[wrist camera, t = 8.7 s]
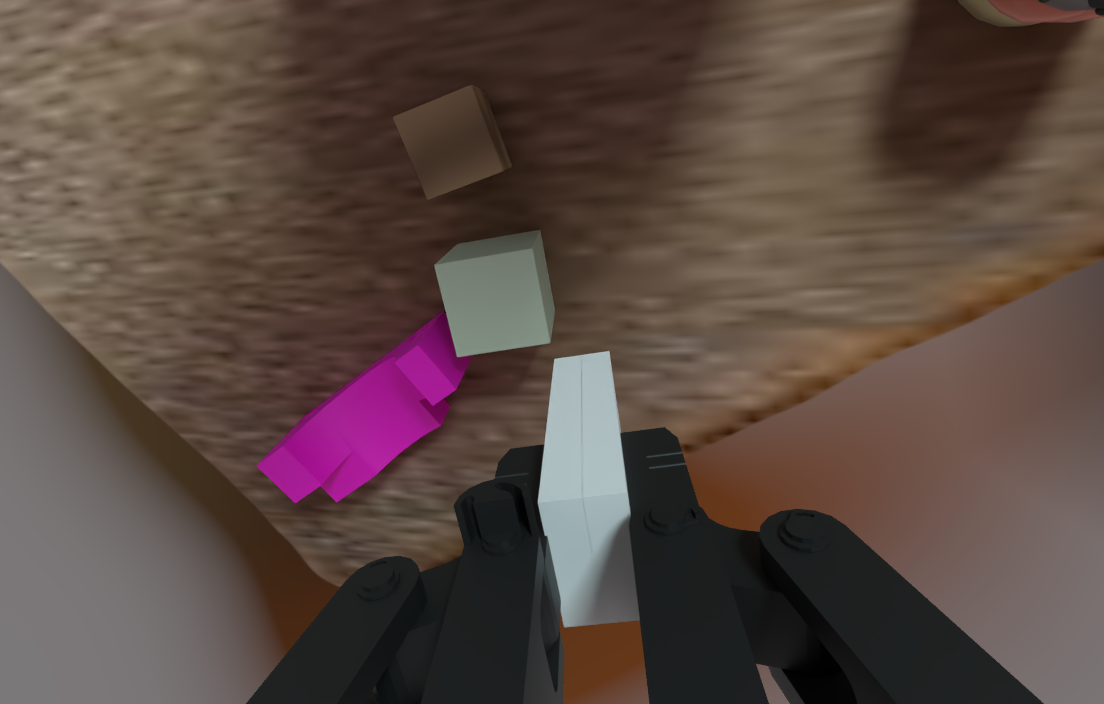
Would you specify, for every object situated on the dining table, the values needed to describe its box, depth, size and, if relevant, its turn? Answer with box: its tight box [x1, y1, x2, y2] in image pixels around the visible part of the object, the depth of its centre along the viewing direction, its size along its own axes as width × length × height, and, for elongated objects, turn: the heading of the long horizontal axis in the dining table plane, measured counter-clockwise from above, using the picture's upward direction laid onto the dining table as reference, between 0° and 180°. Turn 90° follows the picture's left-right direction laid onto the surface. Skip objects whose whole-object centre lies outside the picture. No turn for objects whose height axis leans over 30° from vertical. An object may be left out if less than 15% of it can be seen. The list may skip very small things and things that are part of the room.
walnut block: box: [393, 85, 512, 200], centre depth 37 cm, size 5×5×5 cm
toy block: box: [257, 311, 473, 503], centre depth 43 cm, size 15×6×8 cm, turn 127°
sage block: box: [434, 230, 555, 357], centre depth 39 cm, size 6×6×7 cm
